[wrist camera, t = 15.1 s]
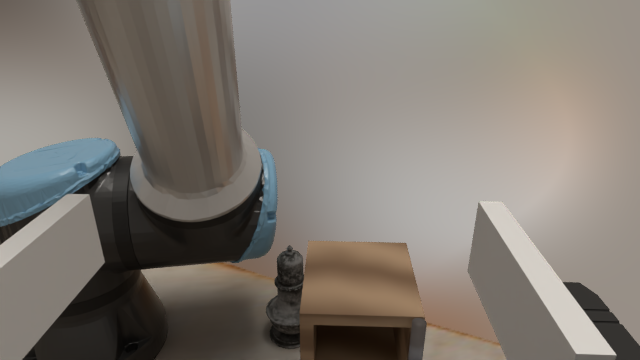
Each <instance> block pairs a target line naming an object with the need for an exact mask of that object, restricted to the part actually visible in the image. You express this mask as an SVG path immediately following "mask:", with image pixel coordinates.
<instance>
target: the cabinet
mask: <svg viewBox="0 0 640 360" xmlns="http://www.w3.org/2000/svg"><path fill="white" fill-rule="evenodd" d="M299 315H300V357H301V360H422V357H423V349H424V341H425V333H426V324H427V323H426V321H425V315H424V311H423V308H422V304H421V300H420V296H419V292H418V288H417V284H416V280H415V276H414V272H413V268H412V264H411V261H410V256H409V252H408V248H407V245H406V243H384V242H336V241H309V242H308V249H307V258H306V265H305V274H304V281H303V289H302V297H301V305H300V313H299Z"/></svg>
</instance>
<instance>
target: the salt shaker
mask: <svg viewBox="0 0 640 360" xmlns="http://www.w3.org/2000/svg"><path fill="white" fill-rule="evenodd" d="M292 249H293V248H292V247H291V246H290V245H289V246H288V247H287V250H286V251H284V252H282V253H281V254H280V255H279V256H278V258H277V271H278V276H277V277H276V278H275V285H276V287H277V288H278V295H277V296H275V297H274V298H273V299H271V300H270V302H269V303H268V305H267V307H266V313H267V316H268V318H269V319H270V321H271V323H272V325H273V326H272V327H271V330H270V336H271V339H272V341H273V342H274V343H275V344H277V345H278V346H281V347H283V348H290V349H291V348H298V347H300V315H299V313H300V305H301V297H302V289H303V281H304V275H303V258H302V255H301V254H300V253H299V252H298V251H295V250H292Z"/></svg>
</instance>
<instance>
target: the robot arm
mask: <svg viewBox="0 0 640 360" xmlns="http://www.w3.org/2000/svg"><path fill="white" fill-rule="evenodd" d="M76 2H77V4H78V6H79V9H80V11H81V14H82V16H83V18H84V21H85V24H86V26H87V28H88V31H89V33H90V36H91V38H92V41H93V43H94V46H95V48H96V50H97V53H98V55H99V58H100V60H101V63H102V65H103V68H104V70H105V72H106V75H107V77H108V80H109V82H110V85H111V87H112V90H113V92H114V94H115V97H116V99H117V102H118V104H119V107H120V109H121V112H122V114H123V116H124V119H125V121H126V124H127V126H128V129H129V131H130V134H131V136H132V138H133V141H134V143H135V146H136V148H137V150H136V152H135V154H134V156H126V157H124V156H123V157H122V156H120V149H119V148H118V147H117V146H116V144H115V143H114V142H113V141H111V140H108V139H101V138H87V139H79V140H72V141H67V142H63V143H59V144H54V145H50V146H47V147H43V148H40V149H37V150H34V151H31V152H29V153H26V154H24V155H21V156H19V157H17V158H15V159H13V160H11V161H9V162H7V163H5V164H3V165H2V166H0V360H153V358H154V357H155V356H156V355H157V354H158V352H159V351H160V349H161V348H162V346H163V344H164V342H165V339H166V336H167V331H168V325H167V319H166V314H165V309H164V306H163V304H162V302H161V300H160V299H159V298H158V296H157V295H156V293H155V292H154V290H153V289H152V287H151V286H150V284H149V283H148V281H147V280H146V278H145V277H144V275H143V274H142V272H141V269H150V268H162V267H173V266H185V265H196V264H207V263H219V262H232V263H239V262H240V261H243V260H246V259H254V258H259V257H262V256H264V255H265V254H266V253H268V251H269V250H270V249H271V246H272V244H273V241H274V236H275V230H276V210H277V178H276V169H275V162H274V158H273V156H272V154H271V153H270V152H269V151H267V150H265V149H260V148H257V146H256V143H255V142H254V140H253V139H252V137H251V136H250V135H249V134H247V133H246V132H245V131H244V130H243V129H242V126H241V116H240V105H239V95H238V94H239V93H238V83H237V72H236V60H235V49H234V38H233V27H232V17H231V6H230V0H76ZM468 273H469V275H470V278H471V280H472V282H473V284H474V286H475V289H476V291H477V293H478V295H479V298H480V300H481V302H482V305H483V307H484V309H485V311H486V314H487V316H488V318H489V320H490V323H491V325H492V327H493V329H494V332H495V334H496V336H497V338H498V341H499V343H500V345H501V347H502V350H503V352H504V354H505V356H506V359H507V360H640V346H639V345H638V343H637V342H636V341H635V340H634V339H633V337H632V336H631V335H630V334H629V332H628V331H627V330H626V329H625V328H624V326H623V325H621V324H619V321H618V319H617V318H616V317H615V316H614V314H613V313H612V312H610V311H609V308H608V307H607V306H606V305H605V304H604V302H603V301H602V300H601V299H600V298H599V296H598V295H597V294H595V293H594V292H592V291H591V290H589V289H588V288H586V287H585V286H583V285H582V284H581V283H573V282H562V281H561V280H560V278H559V277H558V276H557V274H556V273H555V272H554V271H553V269H552V268H551V266H550V265H549V264H548V263H547V261H546V260H545V258H544V257H543V256H542V255H541V253H540V252H539V251H538V249H537V248H536V246H535V245H534V244H533V242H532V241H531V240H530V239H529V237H528V236H527V234H526V233H525V232H524V230H523V229H522V228H521V226H520V225H519V224H518V222H517V221H516V220H515V218H514V217H513V216H512V214H511V213H510V212H509V210H508V209H507V208H506V206H505V205H504V204H503V202H485V201H479V203H478V209H477V215H476V221H475V229H474V234H473V241H472V247H471V253H470V260H469V266H468Z"/></svg>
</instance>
